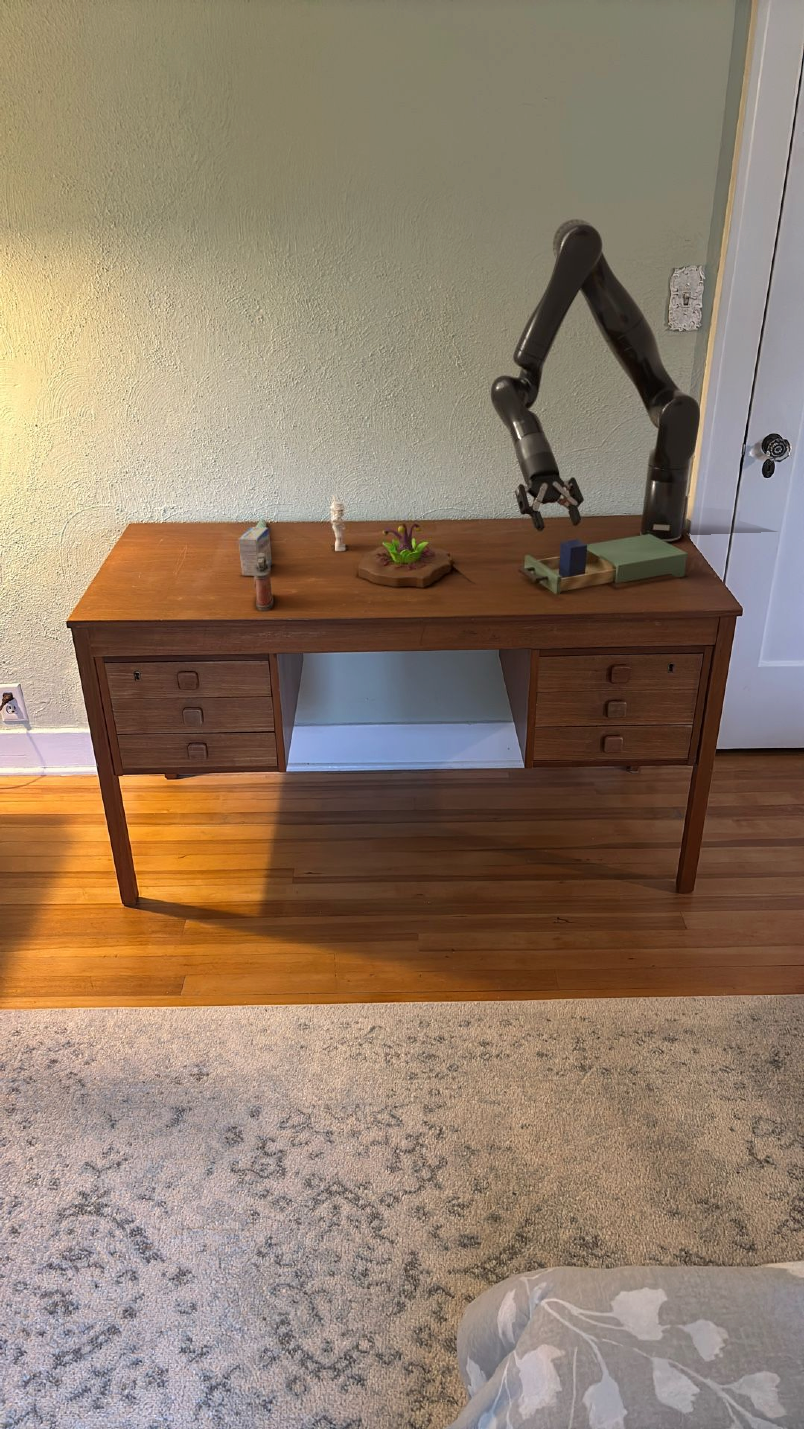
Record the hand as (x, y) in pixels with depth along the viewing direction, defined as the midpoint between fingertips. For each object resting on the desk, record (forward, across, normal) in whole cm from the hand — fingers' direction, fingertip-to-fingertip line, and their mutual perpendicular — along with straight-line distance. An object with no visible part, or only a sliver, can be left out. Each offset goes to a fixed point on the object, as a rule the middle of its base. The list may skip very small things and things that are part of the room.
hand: (559, 526), depth 207 cm
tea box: (+11, 0, +2) cm, 11 cm away
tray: (+11, 0, +3) cm, 12 cm away
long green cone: (-25, -54, +41) cm, 72 cm away
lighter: (0, -62, +15) cm, 64 cm away
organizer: (+12, +15, +3) cm, 20 cm away
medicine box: (-13, -59, +28) cm, 67 cm away
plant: (-3, -29, +18) cm, 35 cm away
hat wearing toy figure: (-17, -38, +32) cm, 52 cm away
